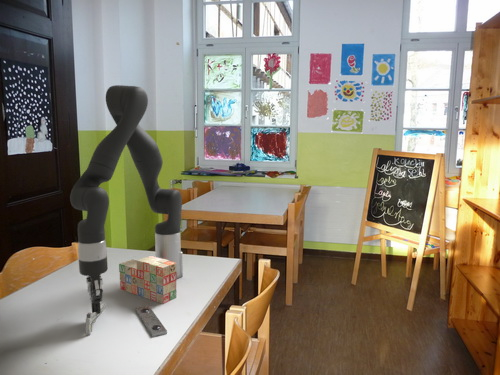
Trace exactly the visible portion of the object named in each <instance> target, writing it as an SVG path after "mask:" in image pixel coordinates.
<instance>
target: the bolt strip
mask: <svg viewBox="0 0 500 375" xmlns="http://www.w3.org/2000/svg"><path fill="white" fill-rule="evenodd" d="M135 312H136V314H137V315H138V316H139V319H140V320H141V321H142V324H144V325H145V327H146V329H147V332H149V334H150V335H151V337H152V338H154V337H159V336H162V335H167V334H168V330H167V329H166V327H165V326H164V325H163V323H162V321H161V320H160V319H159V318H158V316H157V314H156V313H155V312H154V310H152V308H151V307H150V305H146V306H140V307H135Z"/></svg>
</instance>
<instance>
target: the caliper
mask: <svg viewBox="0 0 500 375" xmlns="http://www.w3.org/2000/svg"><path fill="white" fill-rule="evenodd" d="M105 307H106V303H100V309H101V312H100V314H101V313H102V312H103V311H104V309H105ZM100 314H97V313H96V312H92V311H91V312H87V313H86V318H85V336H90V335H91V333H92V332H93V326H94V324H95V323H96V321H97V318H98V316H100Z"/></svg>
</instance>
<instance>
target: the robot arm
mask: <svg viewBox="0 0 500 375" xmlns="http://www.w3.org/2000/svg"><path fill="white" fill-rule="evenodd" d="M105 105H106V108H107V110H108V112H109V114H110V116H111V118H112V120H113V121H114V123H115V127H114V128H113V129H112V130H111V131H110V132H109V133H108V134H107V135H106V136H105V137H104V138H103V139H102V140H101V141H100V142H99V143H98V145H97V146H96V147H95V149H94V151H93V153H92V155H91V158H90V161H89V163H88V165H87V168H86V169H85V171H84V172H83V173H82V174H81V175H80V177H79V179H78V180H77V181H76V182H75V184H74V185H73V187H72V189H71V192H70V195H69V202H70V204H71V207H73V209H75V210H79V211H83V212H86V213H87V214H86V217H85V219H82V220H80V221H79V222H78V223H77V238H78V244H77V245H78V246H77V254H78V271H79V274H80V275H82V276H86V279H85V282H86V284H87V292H88V295H89V300H90V303H91V313H92V312H96V313H97V314H99V315H101V313H102V312H101V309H100V305H101V303H102V301H103V293H104V290H103V284H104V283H103V282H104V281H103V278H102V276H101V275H102V274H104V273H106V272H107V271H108V266H109V265H108V253H107V252H108V250H107V243H106V232H105V229H106V228H105V224H106V220H107V215H108V212H109V211H108V210H109V206H110V198H109V194H108V192H107V191H106V190H105V189H104V187H100V185H101V184H102V183H107V182H109V181H111V179H112V178H113V175H114V173H115V172H116V168H117V165H118V163H119V160H120V157H122V156H121V155H122V154H123V151H124V149H125V147H127V149H128V151H129V154H130V156H131V158H132V161H133V163H134V167H135V168H136V170H137V172H138V175H139V177H140V179H141V181H142V182H141V183H142V184H143V188H144V191H145V195H146V197H147V202H148V206H149V207H150V209H151V211H152V212H154V213H156V214H159V215H167V219H166V220H164V221H162V222H158V223H157V224H155V225H154V226H155V227H154V240H155V248H154V249H155V253H154V254H155V257H157V258H161V259H166V260H169V261H172V262H175V263H176V277H177V278H176V280H178V279H179V278H181V277H183V275H184V273H183V271H184V270H183V269H184V268H183V267H184V266H183V264H184V263H183V262H184V261H183V251H182V250H181V227H182V226H181V225H182V210H183V206H182V205H183V198H182V194H181V192H180V191H179V190H178V189H172V188H171V189H169V188H161V187H160V184H159V183H158V178H159V175H160V173H161V170H162V167H163V156H162V154H161V152H160V148H159V146H158V144H157V142H156V141H155V140H154V138H153V137H152V136H151V135H150V134H148V132H147V131H146V130H145V129H143V127H142V126H141V125H140V122H142V121H141V120H142V119H143V117H144V115H145V113H146V112H147V108H148V105H149V98H148V94H147V91H145V89H143V88H142V87H141V86H136V85H123V84H121V85H119V84H118V85H111V86H110V87H108V88H107V90H106V94H105ZM100 312H101V313H100Z"/></svg>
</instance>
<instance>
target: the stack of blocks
mask: <svg viewBox="0 0 500 375" xmlns="http://www.w3.org/2000/svg"><path fill="white" fill-rule="evenodd" d="M118 268H119V270H118V272H119V286H120V287H119V289H120V290H123V291H126V292H128V293H131V294H134V295H137V296H140V297H143V298H146V299H148V300H152V301H154V302H157V303H160V304H162V305H163V304H166V303H168V302H170V301H172V300H174V299H176V298H177V279H178V278H177V277H176V263H175V262H172V261H169V260H166V259H161V258H157V257H156V256H153V255H149V256H145V257H143V258H140V259H129V260H127V261H124V262H121V263H119V264H118ZM176 278H177V279H176Z"/></svg>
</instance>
